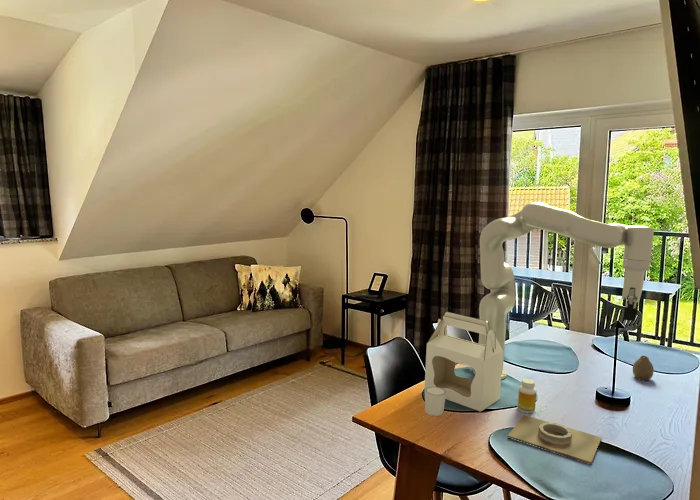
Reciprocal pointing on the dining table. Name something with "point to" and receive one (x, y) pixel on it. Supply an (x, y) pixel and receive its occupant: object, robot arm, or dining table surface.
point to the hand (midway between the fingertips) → (630, 316)
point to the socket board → (569, 450)
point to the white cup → (434, 400)
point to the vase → (643, 368)
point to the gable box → (464, 362)
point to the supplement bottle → (527, 396)
